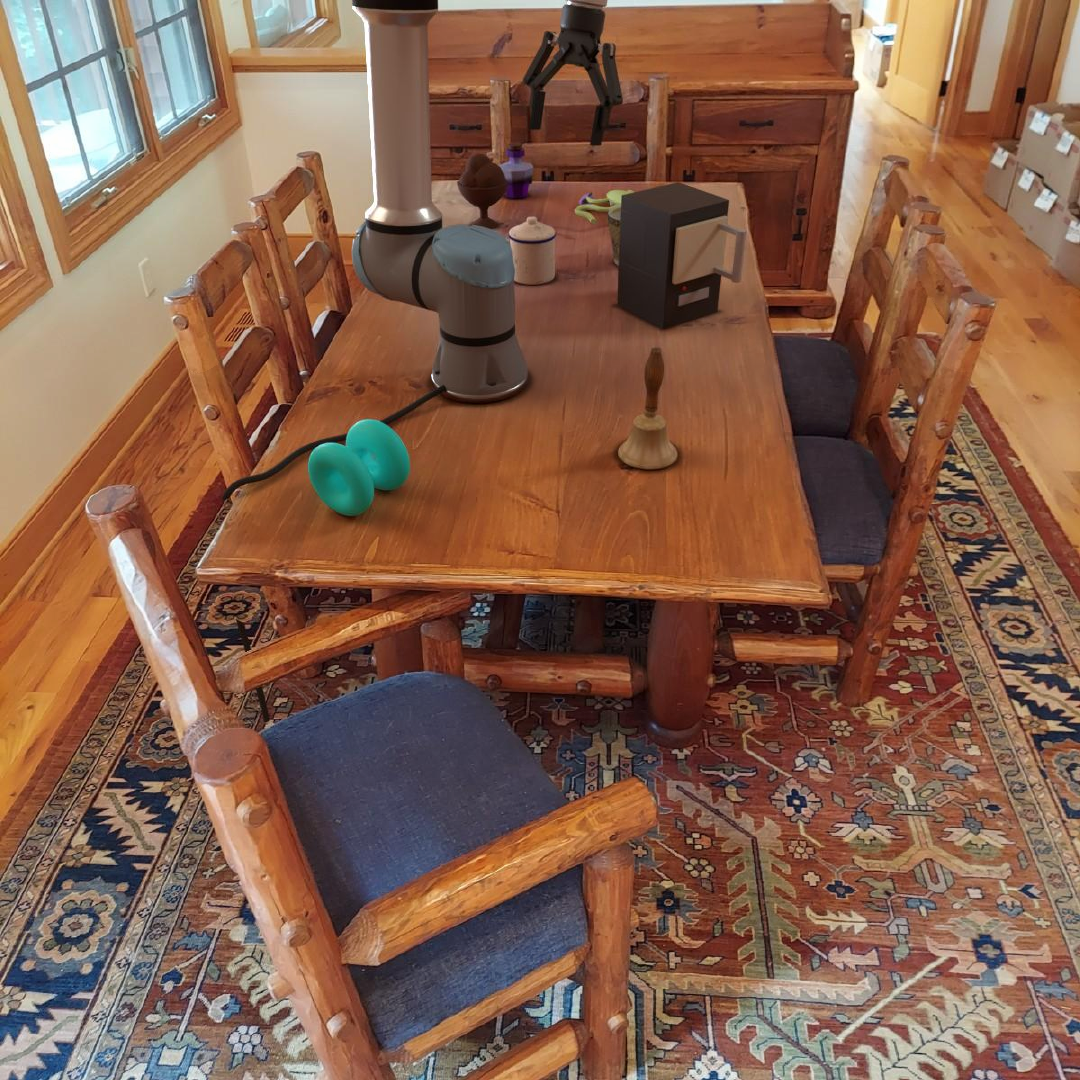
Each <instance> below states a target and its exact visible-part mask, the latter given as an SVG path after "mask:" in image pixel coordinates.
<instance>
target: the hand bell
mask: <svg viewBox="0 0 1080 1080" xmlns="http://www.w3.org/2000/svg"><path fill="white" fill-rule="evenodd" d="M644 365H645V366H644V374H643V375H644V384H645V389H646V398H645V405H644V411H643V413H642V414H639V415H637V416H636V417H635V418H634V419H633V421H632V422H633V423H632V428H631V432H630V434H629V437H628V438H627V440H625V441H624V442H623V443H622V444H621V445H620V446H619V448H618V450H617V454H618V457H619V459H620V461H622V462H623V463H625V464H626V465H627V466H630V467H632V468H635V469H636V468H637V469H642V470H658V469H659V470H660V469H663V468H667V467H670V466H671V465H672V464H674V463H675V462H676V461H677V459H678V454H679V453H678V451H677V449H676V447H675V446H674V445H673V444H672V443H671V442H670V440H669V436H668V432H667V431H668V430H667V422H666V420H665V418H664V417H663V416H661V415H659V414H658V403H659V402H658V401H659V392H660V389H661V387H662V384H663V380H664V376H665V361H664V358H663V354H662V349H661V348H660V347H657V346H656V347H652V348H651V349H650V354H649V355H648V357H647V360H646V361H645V364H644Z"/></svg>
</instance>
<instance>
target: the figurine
mask: <svg viewBox="0 0 1080 1080" xmlns="http://www.w3.org/2000/svg"><path fill="white" fill-rule="evenodd" d="M634 192H635V191H634V190H631V189H628V190H622V189H611V190H609V191H608V192H607V193H606V195H605V196H606V197H605V198H598V199H596V198H595V197H594V195H593V192H592V191H590V192H588V193H584V194H583V196H582V197H581V198H580V199H579V200H578V204H579V205H577V206H576V207H575V208H574V213H575V215H576V216H578V217H580V218H581V217H582V218H585V219H587V220H588V221H589V222H590V223H591V225H596V224H597V219H596V218H595V216H594V215H593V214H592V213H590V212H588V211H596V212H598V213H605V214H608V212H609V211H610V210H611V209H613V208H615V207H619V206H621V196H622V195H625V194H629V193H634ZM606 204H609V205H610V206H600V205H606Z"/></svg>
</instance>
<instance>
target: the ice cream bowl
mask: <svg viewBox="0 0 1080 1080" xmlns="http://www.w3.org/2000/svg"><path fill="white" fill-rule="evenodd" d="M498 165H499V164H497V163H496V162H493V161H491V159H490V158H489V156H487V155H486V154H485V153H479V152H477V153H474V154H472V155H470V156H469V157H468V159H467V160H466V163H465V171H463V172H462V173H461V175H460V177H459V180H457V182H456V184H457V189H458V191H459V193H460V195H461V196H462V197H463V198H464V200H466V201H467V203H469V204H470V205H472V206H474V207H476V208H478V210H479V217H478V218H477V219H476V220H474V221H473V222H472V223H471V226H472V225H477V226H482V227H486V228H489V229H494V228H496V226H498V223H497V221H495V220H494V219H493V218H491V217H489V212H488V210H489V208H490V207H492V206H494V205H496V204H497V203H498V202H499V201H500V200H501V199H502V198H503V197H504V195H506V193H505V192H506V190H507V185H508V181H507V180H506V179H505V176H504V173H503V171H502V169H501V167H500V166H498Z"/></svg>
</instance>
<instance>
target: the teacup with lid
mask: <svg viewBox="0 0 1080 1080" xmlns="http://www.w3.org/2000/svg"><path fill="white" fill-rule="evenodd" d="M556 233H557V232H556V230H555V228H554V227H552V226H551V225H548V224H544V223H542V222H541V221H538V217H536V216H528V217H526V221H524V222H522V223H521V224H517V225H515V226H513V227H511V228H510V229H509V232H508V238H506V239H507V241H508V242H509V243H510V246H511V249H512V254H513V263H514V267H515V276H514V282H516V283H518V284H522V285H529V286H535V285H543V284H547V283H550V282H551V281H553V280H554V278H555V276H556V250H555V249H556V236H557V234H556Z"/></svg>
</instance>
